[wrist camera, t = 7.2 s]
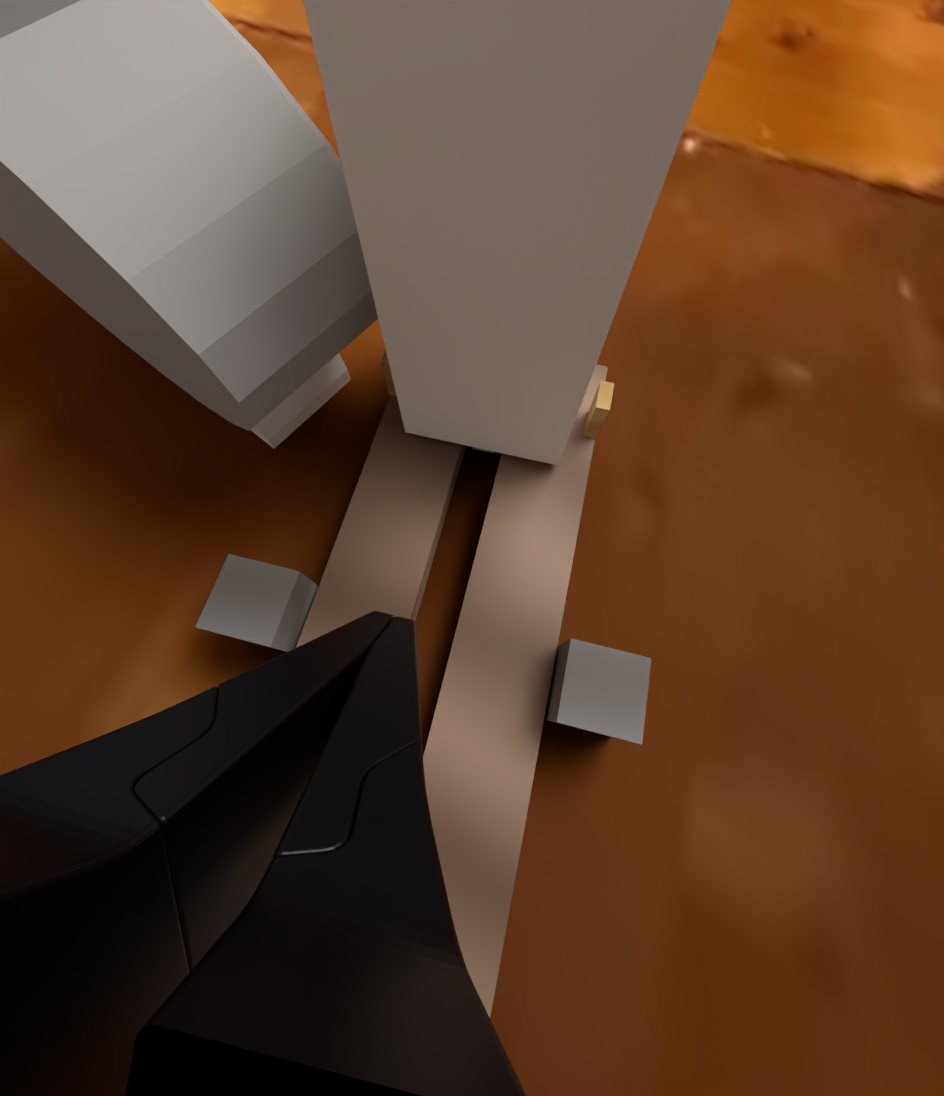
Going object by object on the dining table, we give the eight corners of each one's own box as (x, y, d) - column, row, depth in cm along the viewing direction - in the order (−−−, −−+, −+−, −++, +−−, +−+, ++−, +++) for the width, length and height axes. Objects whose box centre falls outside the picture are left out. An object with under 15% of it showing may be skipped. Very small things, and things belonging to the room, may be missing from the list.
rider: (553, 477, 18) (747, -43, 5) (408, 445, 18) (278, -103, 6) (578, 359, 19) (762, -221, 7) (446, 333, 20) (410, -255, 8)
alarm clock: (419, 405, 19) (336, -83, 7) (317, 505, 18) (-2, 89, 6) (100, 180, 24) (-267, -339, 12) (-3, 243, 23) (-545, -285, 10)
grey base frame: (546, 1234, 11) (572, 1415, 8) (63, 1064, 12) (-61, 1175, 9) (656, 397, 19) (687, 345, 17) (366, 339, 20) (349, 280, 18)
